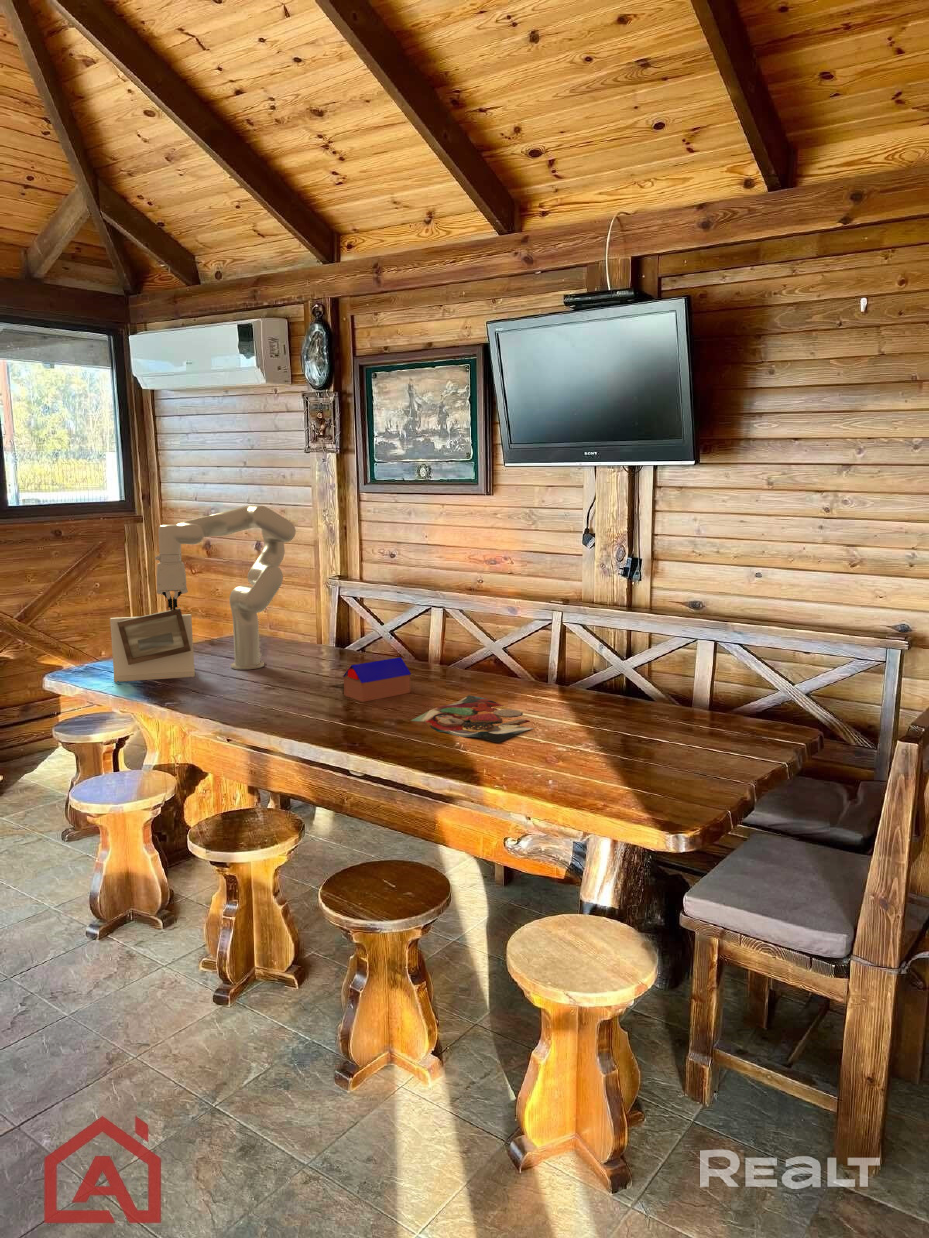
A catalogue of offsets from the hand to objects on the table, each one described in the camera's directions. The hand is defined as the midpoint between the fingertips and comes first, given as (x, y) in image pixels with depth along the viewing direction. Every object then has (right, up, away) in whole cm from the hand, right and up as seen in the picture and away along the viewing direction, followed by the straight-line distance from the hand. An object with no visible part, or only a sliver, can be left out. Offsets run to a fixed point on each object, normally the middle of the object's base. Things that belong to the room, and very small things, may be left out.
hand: (172, 609), depth 331 cm
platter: (+111, -35, -53) cm, 128 cm away
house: (+76, -29, -20) cm, 84 cm away
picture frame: (-5, -17, +2) cm, 18 cm away
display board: (-9, -25, +7) cm, 27 cm away
